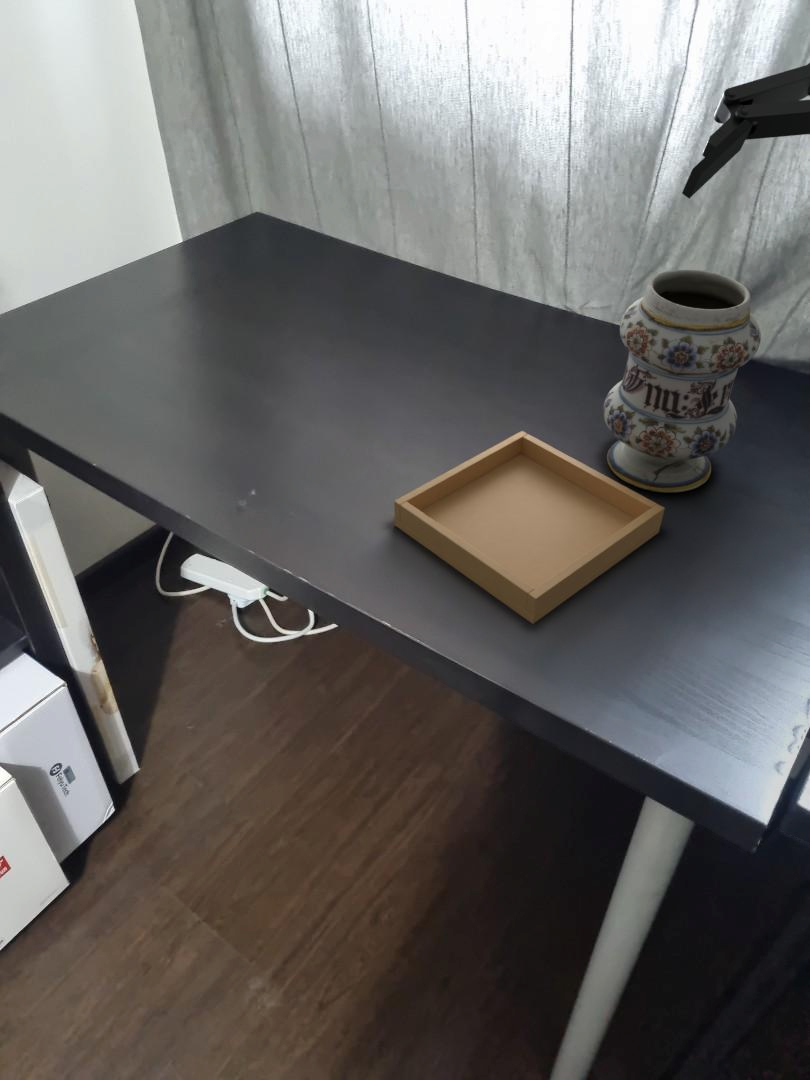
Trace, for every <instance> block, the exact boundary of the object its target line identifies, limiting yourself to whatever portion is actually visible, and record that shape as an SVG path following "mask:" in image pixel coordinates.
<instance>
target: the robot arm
mask: <svg viewBox="0 0 810 1080" xmlns="http://www.w3.org/2000/svg"><path fill="white" fill-rule="evenodd" d="M807 97H810V62H809V63H807V64H805V65H802V66H798V67H795V68H791V69H787V70H785V71H782V72H778V73H775V74H772V75H768V76H765V77H761V78H758V79H755V80H751V81H748V82H744V83H742V84H738V85H735V86H731V87H728V88H726V89H725V90H724V91H723V93H722V95H721V98H720V99H719V102H718V105H717V108H716V110H715V112H714V114H713V120H714V121H715V122H716V123H717V124H722V125H721V126H720V127H718V128H717V129H716V130H715V131H714V132H713V133H712V134H711V135H710V136H709V138H708V140H707V142H706V144H705V147H704V149H703V151H702V154H701V155H702V156H703V158H702V159H701V160H700V161H699V162H698V163H697V164H695V166H694V167H693V168H692V169H691V171H690V173H689V176H688V179H687V181H686V183H685V185H684V187H683V190H682V192H681V195H684V196H685V197H686V198H687V199H691V198H692V197H693V196H694V195H695V194H696V193H697V192H698V191H699V190H700V189H702V188H703V186H705V184H707V182H709V181H710V180H711V179H712V178H713V177H714V176H715V175H716V174H717V173H718V172H719V171H720V170H721V169H722V168H724V166H726V165H727V163H728V162H730V161H731V160H732V159H733V158H734V157H735V156H736V155H737V154H738V153H739V152H741V150H742V148H743V146H744V144H745V142H746V140H747V141H749V140H761V139H771V138H783V137H793V136H806V135H810V99H805V98H807Z"/></svg>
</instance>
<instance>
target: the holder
mask: <svg viewBox="0 0 810 1080" xmlns="http://www.w3.org/2000/svg"><path fill="white" fill-rule="evenodd" d="M393 506H394V507H393V509H394V527H397V529H399V530H401V531H402V532H404V533H405V534H406V535H408V536H409V537H410V538H412V539H413V540H415V541H416V542H417V543H419V544H420V545H421V546H423V547H425V548H426V549H427V550H429V551H430V552H432V554H434V555H436V556H437V557H438V558H440V559H441V560H443V561H444V562H445V563H446V564H447V565H450V566H451V567H453V569H455V570H457V571H458V572H460V573H461V574H462V575H464V576H465V577H466V578H468V580H471V582H473V583H475V585H478V586H479V587H480V588H482V589H483V590H484V591H486V592H487V593H488V594H490V595H492V596H493V597H494V598H496V599H497V600H499V601H500V602H501V603H503V604H504V605H505V606H507V607H508V608H509V609H511V610H512V611H514V612H515V613H517V614H518V615H519V616H521V617H522V618H524V619H525V620H526V621H528V622H529V623H531V624H532V625H534V624H535V623H537V622H538V621H540V620H541V619H542V618H543V617H545V616H546V615H548V614H549V613H551V612H552V611H553V610H554V609H555V608H557V607H558V606H560V605H561V604H562V603H564V602H565V601H567V600H568V599H570V598H571V597H573V596H574V595H575V594H576V593H578V592H580V591H581V589H583V588H585V587H586V586H587V585H589V584H590V583H591V582H593V581H594V580H595V579H597V578H598V577H600V576H601V575H602V574H604V573H605V572H606V571H608V570H609V569H611V568H612V567H613V566H615V565H616V564H618V563H619V562H621V561H622V560H623V559H624V558H626V557H627V556H628V555H630V554H631V553H633V552H635V550H637V549H638V548H640V547H641V546H642V545H644V544H645V543H647V542H648V541H649V540H651V539H652V538H653V537H655V536H656V535H657V534H659V533H660V530H661V529H660V528H661V525H662V521H663V517H664V513H665V507H664V506H662V505H661V504H658V503H656V502H654V501H653V500H651V499H649V498H648V497H645V496H643V495H642V494H640V493H638V492H636V491H634V490H633V489H631V488H629V487H627V486H625V485H623V484H621V483H619V482H618V481H616V480H614V479H612V478H610V477H609V476H607V475H605V474H603V473H601V472H599V471H598V470H596V469H594V468H592V467H590V466H588V465H587V464H584V463H583V462H581V461H579V460H577V459H575V458H573V457H571V456H570V455H567V454H566V453H564V452H562V451H561V450H558V449H557V448H555V447H554V446H551V445H550V444H548V443H546V442H544V441H542V440H540V439H538V438H536V436H533V435H531V434H529V433H527V432H525V431H524V430H521V431H519V432H517V433H515V434H514V435H512V436H509V437H508V438H506V439H505V440H502V441H500V442H499V443H497V444H495V445H494V446H492V447H490V448H488V449H486V450H484V451H483V452H481V453H478V454H477V455H475V456H473V457H471V458H470V459H468V460H465V461H464V462H462V463H460V464H458V465H457V466H455V467H453V468H451V469H450V470H448V471H446V472H444V473H442V474H441V475H439V476H437V477H435V478H433V479H431V480H429V481H428V482H426V483H424V484H423V485H421V486H419V487H417V488H415V489H413V490H411V491H410V492H408V493H406V494H405V495H403V496H401V497H399V498H397V499H395V500H394V501H393Z"/></svg>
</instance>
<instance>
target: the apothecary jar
mask: <svg viewBox="0 0 810 1080" xmlns="http://www.w3.org/2000/svg"><path fill="white" fill-rule="evenodd" d="M750 307H751V293H750V291H749V290H748V289H747V288H746V287H745V286H744V285H743V284H742V283H740V282H739V281H737V280H735V279H733V278H731V277H729V276H726V275H724V274H720V273H716V272H713V271H708V270H700V269H685V268H683V269H674V270H669V271H664V272H661V273H659V274H656V275H654V276H653V277H652V278H651V279H649V282H648V283H647V287H646V291H645V294H644V295H643V297H640V298H639V299H637V300H636V301H634V302H633V303H632V304H631V305H629V306H628V308H627V309H626V310H625V311H624V313H623V314H622V316H621V319H620V323H619V335H620V338H621V341H622V343H623V345H624V347H625V348H626V349H627V351H628V356H627V361H626V365H625V369H624V373H623V376H622V379H621V380H620V381H618V382H617V383H616V384H615V385H614V386H613V387H612V388H611V389H610V390H609V392H608V393H607V395H606V396H605V399H604V403H603V409H602V411H603V420H604V422H605V425H606V427H607V428H608V430H609V431H610V432H611V433H612V434H613V436H614V437H615V438H616V439H617V441H616V442H614V443H613V444H612V445H611V446H610V447H609V449H608V452H607V455H606V461H607V464H608V466H609V468H610V470H611V471H612V473H614V475H615V476H617V478H619V479H621V480H622V481H623V482H625V483H627V484H629V485H631V486H633V487H636V488H639V489H641V490H644V491H649V492H653V493H664V494H678V493H685V492H688V491H692V490H695V489H697V488H699V487H701V486H702V485H704V484H705V483H706V482H707V481H708V480H709V478H710V476H711V473H712V464H711V461H710V458H709V457H708V455H711V454H713V453H715V452H718V451H719V450H721V448H723V447H724V446H725V445H726V444H728V442H729V441H730V440H731V439H732V438H733V436H734V434H735V432H736V429H737V425H738V415H737V411H736V408H735V405H734V404H733V402H732V401H731V399H730V398H731V395H732V392H733V388H734V384H735V381H736V377H737V373H738V370H739V368H741V367H742V366H745V365H746V364H747V363H748V362H749V361H751V360H752V358H753V357H754V356H755V355H756V354H757V352H758V351H759V348H760V345H761V340H762V333H761V329H760V326H759V323H758V321H757V320H756V318H755V316H754V315H753V314H752V312H751V309H750Z"/></svg>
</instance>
